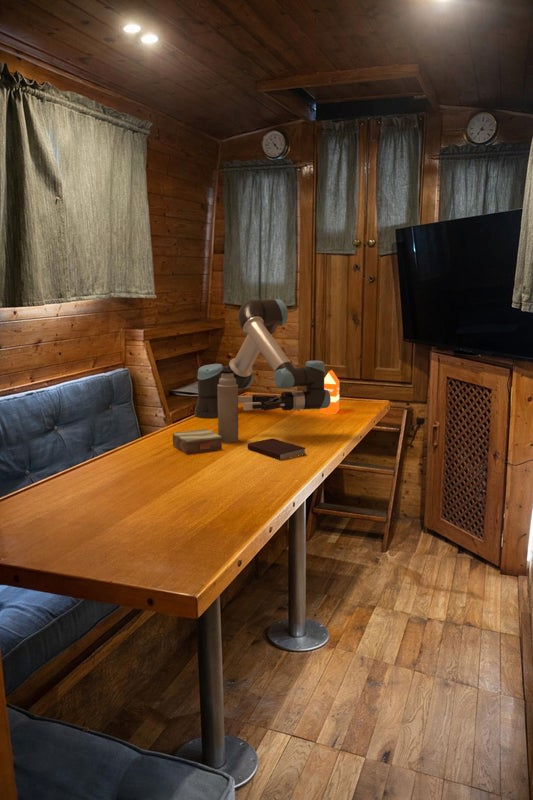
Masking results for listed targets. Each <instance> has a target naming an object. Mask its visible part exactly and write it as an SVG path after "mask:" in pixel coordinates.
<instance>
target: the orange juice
mask: <svg viewBox="0 0 533 800" xmlns="http://www.w3.org/2000/svg"><path fill="white" fill-rule="evenodd" d="M324 388H325V390H328V391H329V393H330V398H331V402H330V405H329V407H327V408H322V409H319V414H320V413H323V414H322V415H332V414H336V413H337V412H338V411H340V379H339V378H338V377H337V375H336V374H335V372H334V371H333V369H331V370H329V371H328V372H327V374H325V379H324ZM338 413H339V412H338ZM338 413H337V414H338ZM337 414H336V415H337Z"/></svg>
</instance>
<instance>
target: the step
mask: <svg viewBox="0 0 533 800" xmlns="http://www.w3.org/2000/svg"><path fill="white" fill-rule="evenodd" d="M222 444H223V443H222V436H220V435H218V433H215V432H213V431H212V430H210V429H208V428H203V429H195V430H187V431H179V432H172V447H174V448H175V449H178V450H179V451H181V452H182V453H184V454H186V455H191V454H198V453H206V452H213V451H220V450H223V449H222V448H223V445H222Z"/></svg>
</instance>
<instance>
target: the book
mask: <svg viewBox="0 0 533 800" xmlns="http://www.w3.org/2000/svg"><path fill="white" fill-rule="evenodd" d="M246 446H247V449H248V451H252V452H255V453H258V454H259V455H263V456H266V457H270V458H272V459H274V458H275V460H278V461H282V459H283V460H287V459H286V458H289V459H291V458H290V457H294V456H298V455H302V454H303V456H305V455H304V454H306V447H305V446H300V445H297V444H293V443H290V442H287V441H283V440H279V439H277V438H268V439H262V440H257V441H253V442H249V443H247V445H246ZM298 457H299V456H298ZM294 458H295V457H294Z"/></svg>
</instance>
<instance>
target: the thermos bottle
mask: <svg viewBox="0 0 533 800" xmlns="http://www.w3.org/2000/svg"><path fill="white" fill-rule="evenodd" d="M221 373H222V374H221V378H220V379H219V384H218V385H217V389H218V418H217V419H218V420H217V434H218V435H220V436H222V444H233V443H237V442H238V441H239V404H238V397H239V390H238V384H236V379H235V378H234V374H233V373H234V371H233V370H222V371H221Z"/></svg>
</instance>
